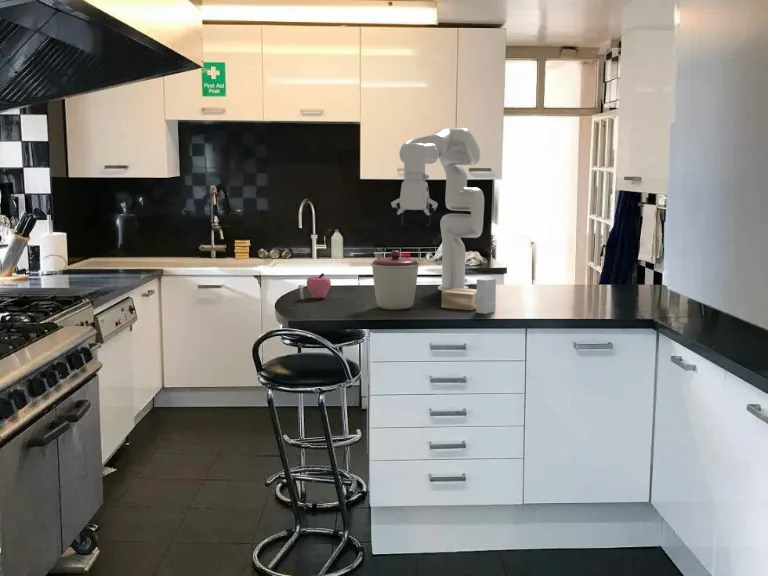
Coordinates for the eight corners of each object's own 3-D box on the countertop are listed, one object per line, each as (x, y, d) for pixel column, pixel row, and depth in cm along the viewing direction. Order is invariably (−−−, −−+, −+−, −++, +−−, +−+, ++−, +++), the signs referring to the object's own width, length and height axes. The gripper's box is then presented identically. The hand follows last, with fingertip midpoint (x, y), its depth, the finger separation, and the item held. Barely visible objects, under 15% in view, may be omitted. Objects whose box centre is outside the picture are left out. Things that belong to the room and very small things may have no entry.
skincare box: (486, 310, 294) (487, 277, 292) (495, 311, 291) (496, 278, 289) (475, 312, 290) (476, 279, 288) (485, 314, 287) (485, 280, 285)
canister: (430, 308, 299) (430, 250, 295) (394, 314, 286) (394, 254, 283) (395, 301, 312) (396, 246, 308) (360, 307, 299) (360, 250, 296)
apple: (328, 295, 325) (327, 270, 324) (333, 299, 317) (333, 273, 315) (304, 297, 322) (304, 271, 321) (309, 300, 314) (309, 274, 312)
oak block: (455, 303, 311) (456, 287, 310) (484, 306, 305) (485, 290, 304) (441, 307, 301) (441, 291, 300) (471, 311, 294) (471, 294, 294)
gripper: (440, 178, 294) (439, 225, 297) (394, 177, 299) (394, 224, 302) (435, 178, 287) (434, 227, 290) (388, 178, 292) (388, 225, 295)
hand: (414, 225), depth 296 cm, fingers open, 9 cm apart
